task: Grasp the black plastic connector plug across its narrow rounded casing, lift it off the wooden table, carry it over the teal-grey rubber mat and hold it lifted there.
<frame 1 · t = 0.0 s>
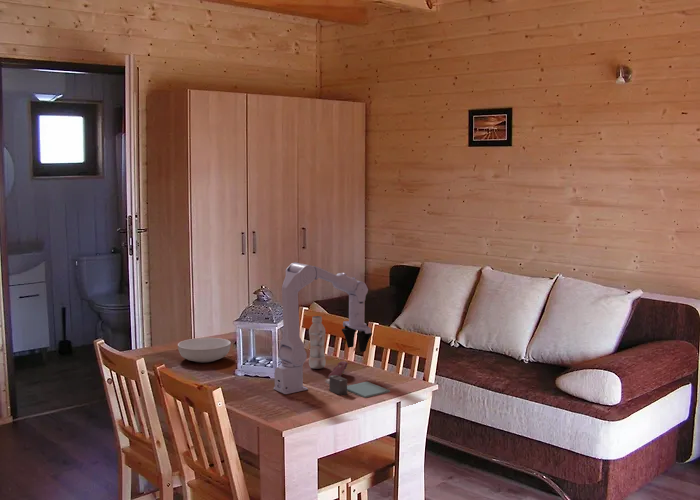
hand: (356, 349, 285), 10 cm above the table, tool pointing down, fingers open, 7 cm apart
serving bowl: (204, 360, 308), on the table
plastic bottle: (317, 368, 296), on the table
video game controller: (338, 377, 285), on the table
rubber mat: (366, 390, 268), on the table
connector plug: (338, 392, 266), on the table
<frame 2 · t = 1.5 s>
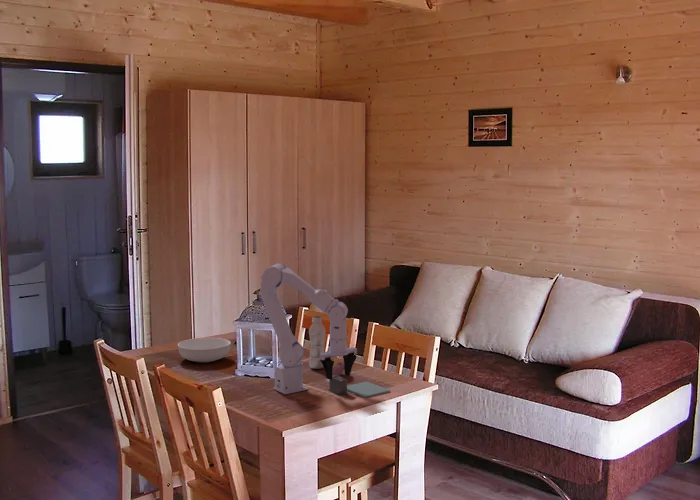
hand: (338, 377, 266), 5 cm above the table, tool pointing down, fingers open, 7 cm apart
nothing on the table moved.
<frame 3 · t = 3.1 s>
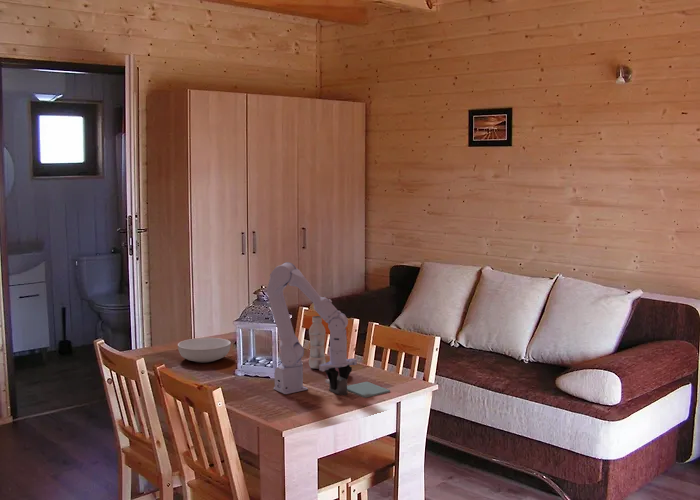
hand: (338, 388, 266), 1 cm above the table, tool pointing down, fingers closed on connector plug, 3 cm apart
connector plug: (338, 392, 266), on the table, touching gripper
everything else where it was.
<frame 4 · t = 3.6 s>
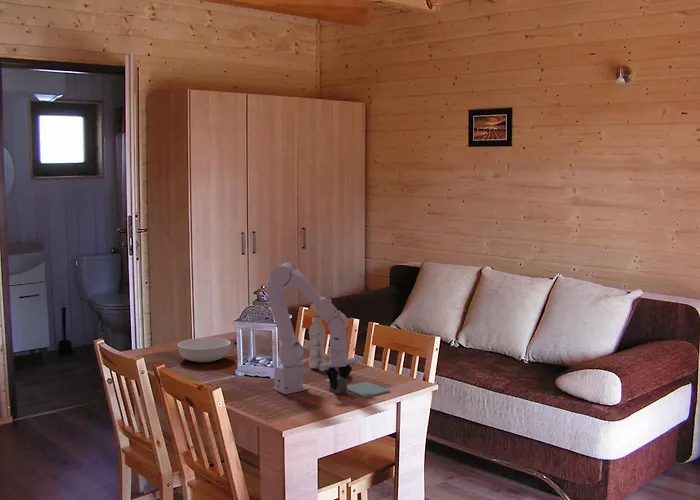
hand: (338, 387, 266), 2 cm above the table, tool pointing down, fingers closed on connector plug, 3 cm apart
connector plug: (338, 391, 266), on the table, touching gripper
everything else where it was.
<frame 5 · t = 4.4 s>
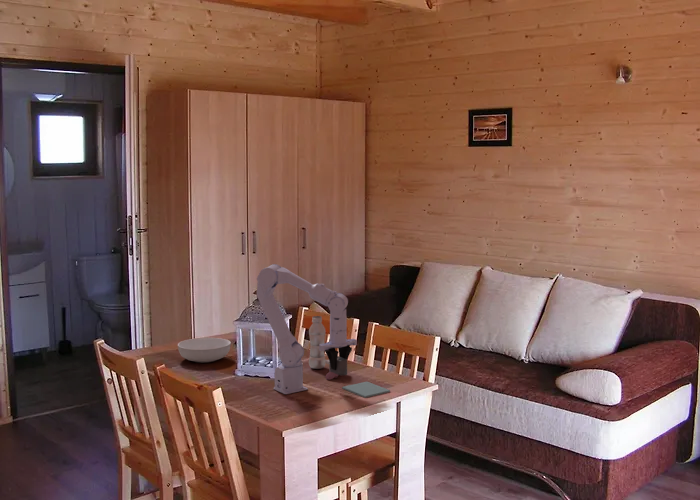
hand: (338, 368, 265), 8 cm above the table, tool pointing down, fingers closed on connector plug, 3 cm apart
connector plug: (338, 372, 265), point 7 cm above the table, touching gripper
everything else where it was.
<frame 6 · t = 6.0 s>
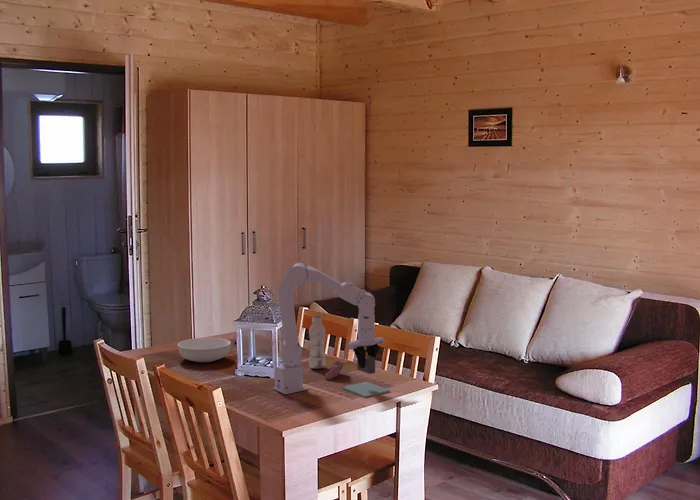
hand: (366, 366, 267), 8 cm above the table, tool pointing down, fingers closed on connector plug, 3 cm apart
connector plug: (366, 370, 268), point 7 cm above the table, touching gripper
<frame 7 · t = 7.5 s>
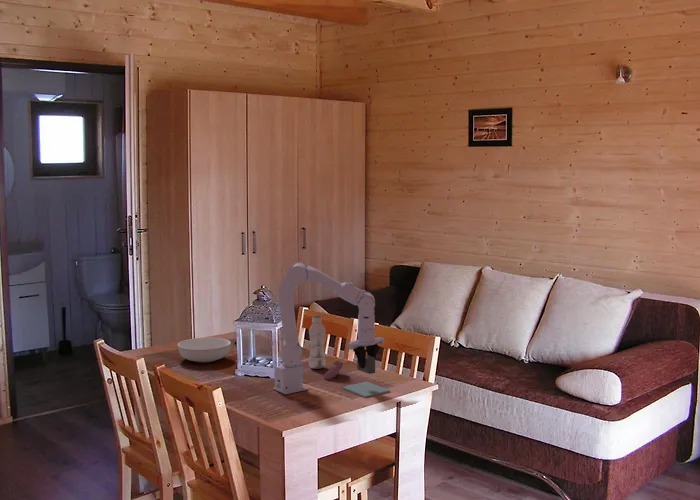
hand: (366, 366, 267), 8 cm above the table, tool pointing down, fingers closed on connector plug, 3 cm apart
connector plug: (366, 370, 268), point 7 cm above the table, touching gripper
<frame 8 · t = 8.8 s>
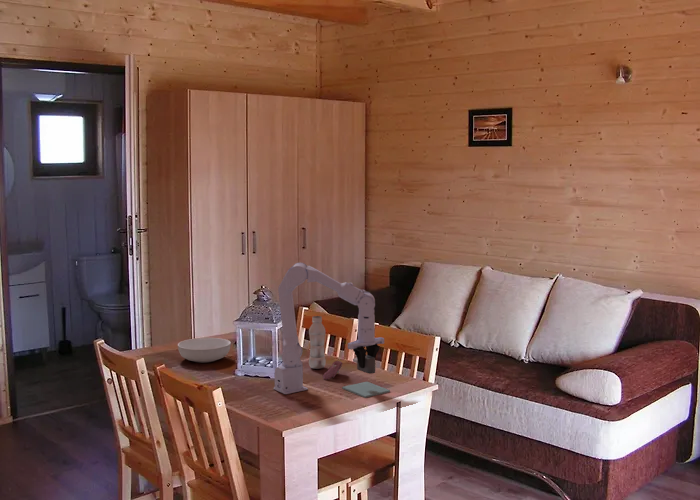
hand: (366, 366, 267), 8 cm above the table, tool pointing down, fingers closed on connector plug, 3 cm apart
connector plug: (366, 370, 268), point 7 cm above the table, touching gripper
at the end: the gripper is holding connector plug; connector plug inside the target area (0.0 cm from its centre), point 7.0 cm above the table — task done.
